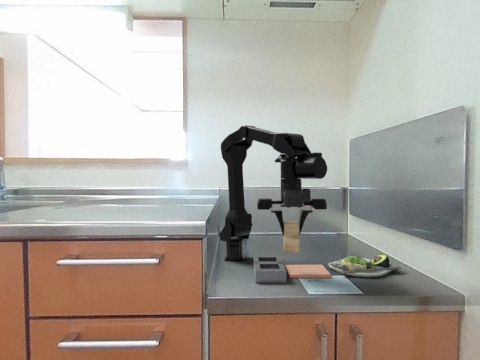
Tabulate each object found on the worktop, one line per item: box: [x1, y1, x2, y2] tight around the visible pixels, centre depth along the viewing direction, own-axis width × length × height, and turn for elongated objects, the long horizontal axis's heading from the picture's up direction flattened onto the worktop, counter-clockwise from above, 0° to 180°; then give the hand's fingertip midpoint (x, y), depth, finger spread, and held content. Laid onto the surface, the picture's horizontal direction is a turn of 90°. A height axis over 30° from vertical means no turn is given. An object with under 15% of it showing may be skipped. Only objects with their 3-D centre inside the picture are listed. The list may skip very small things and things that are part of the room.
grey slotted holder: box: [252, 255, 287, 284], centre depth 105 cm, size 18×8×3 cm, turn 0°
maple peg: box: [282, 221, 300, 254], centre depth 103 cm, size 4×4×8 cm
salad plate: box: [328, 254, 402, 278], centre depth 107 cm, size 19×18×5 cm
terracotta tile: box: [284, 264, 332, 279], centre depth 106 cm, size 11×11×1 cm
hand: (291, 234), depth 103 cm, fingers closed on maple peg, 4 cm apart
